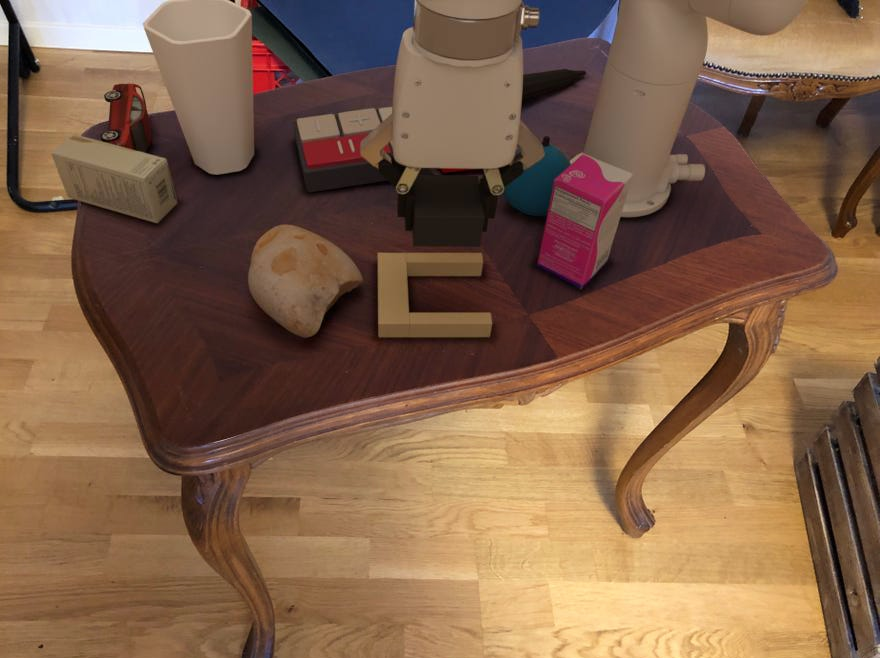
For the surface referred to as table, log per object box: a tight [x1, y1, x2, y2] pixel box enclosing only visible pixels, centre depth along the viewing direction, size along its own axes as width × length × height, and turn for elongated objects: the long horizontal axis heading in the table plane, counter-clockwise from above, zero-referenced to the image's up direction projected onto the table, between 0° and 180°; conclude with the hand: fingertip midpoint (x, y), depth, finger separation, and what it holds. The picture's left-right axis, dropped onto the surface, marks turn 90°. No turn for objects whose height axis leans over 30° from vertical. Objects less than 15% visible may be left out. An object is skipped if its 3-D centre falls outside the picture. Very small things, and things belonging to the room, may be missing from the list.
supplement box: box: [536, 154, 633, 290], centre depth 73 cm, size 6×6×12 cm
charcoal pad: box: [411, 174, 485, 248], centre depth 64 cm, size 6×6×3 cm
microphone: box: [522, 68, 587, 102], centre depth 98 cm, size 6×6×20 cm
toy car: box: [100, 83, 152, 153], centre depth 87 cm, size 6×15×5 cm
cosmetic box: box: [50, 134, 178, 224], centre depth 80 cm, size 6×4×12 cm
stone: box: [247, 224, 364, 339], centre depth 71 cm, size 14×11×8 cm
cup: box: [142, 0, 255, 175], centre depth 81 cm, size 11×10×17 cm
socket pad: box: [377, 252, 493, 338], centre depth 72 cm, size 11×10×2 cm
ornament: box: [502, 135, 571, 217], centre depth 79 cm, size 8×5×10 cm, turn 68°
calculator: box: [292, 106, 431, 193], centre depth 87 cm, size 11×4×15 cm
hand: (444, 220), depth 65 cm, fingers closed on charcoal pad, 6 cm apart
